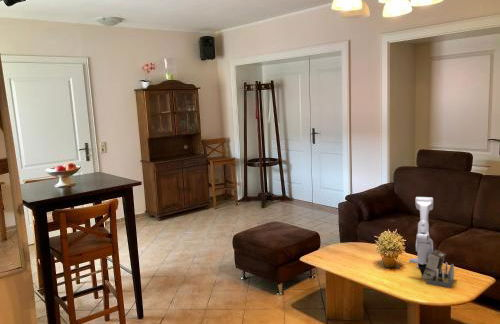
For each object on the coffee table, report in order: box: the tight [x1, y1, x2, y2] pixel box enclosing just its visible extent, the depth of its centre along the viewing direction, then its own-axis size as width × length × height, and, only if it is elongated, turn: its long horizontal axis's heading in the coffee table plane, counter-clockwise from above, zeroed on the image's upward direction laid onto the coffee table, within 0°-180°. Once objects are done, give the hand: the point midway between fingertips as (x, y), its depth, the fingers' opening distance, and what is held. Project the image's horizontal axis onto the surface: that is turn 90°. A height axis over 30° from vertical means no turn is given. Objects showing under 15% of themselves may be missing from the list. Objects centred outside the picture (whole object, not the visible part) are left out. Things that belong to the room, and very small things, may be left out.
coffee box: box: [421, 248, 447, 281], centre depth 230 cm, size 9×6×16 cm
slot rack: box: [426, 262, 455, 289], centre depth 228 cm, size 13×12×10 cm
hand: (422, 276), depth 233 cm, fingers closed, pressing on coffee box
